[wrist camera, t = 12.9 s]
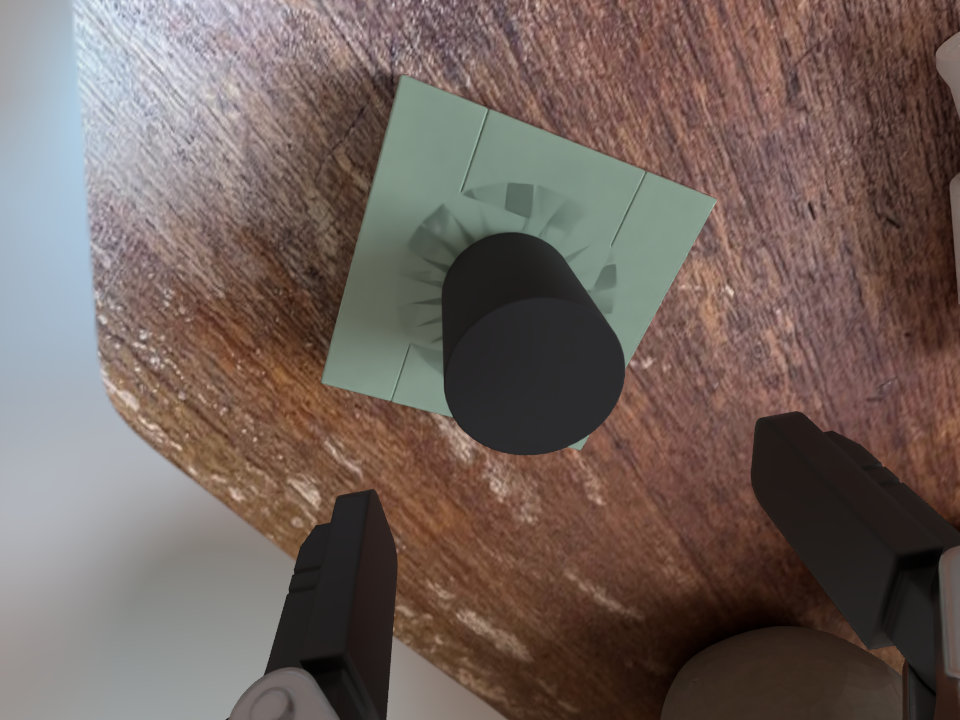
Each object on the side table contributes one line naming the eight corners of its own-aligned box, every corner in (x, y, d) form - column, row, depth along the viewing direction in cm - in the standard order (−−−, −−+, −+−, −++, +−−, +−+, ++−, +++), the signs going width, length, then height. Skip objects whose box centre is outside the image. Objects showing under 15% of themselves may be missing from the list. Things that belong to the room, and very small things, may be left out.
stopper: (425, 310, 24) (420, 432, 16) (463, 197, 22) (480, 271, 14) (533, 342, 25) (579, 472, 17) (579, 238, 23) (658, 329, 15)
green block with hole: (331, 350, 25) (319, 384, 22) (405, 73, 20) (400, 73, 17) (567, 414, 27) (580, 451, 25) (684, 184, 22) (718, 199, 20)
